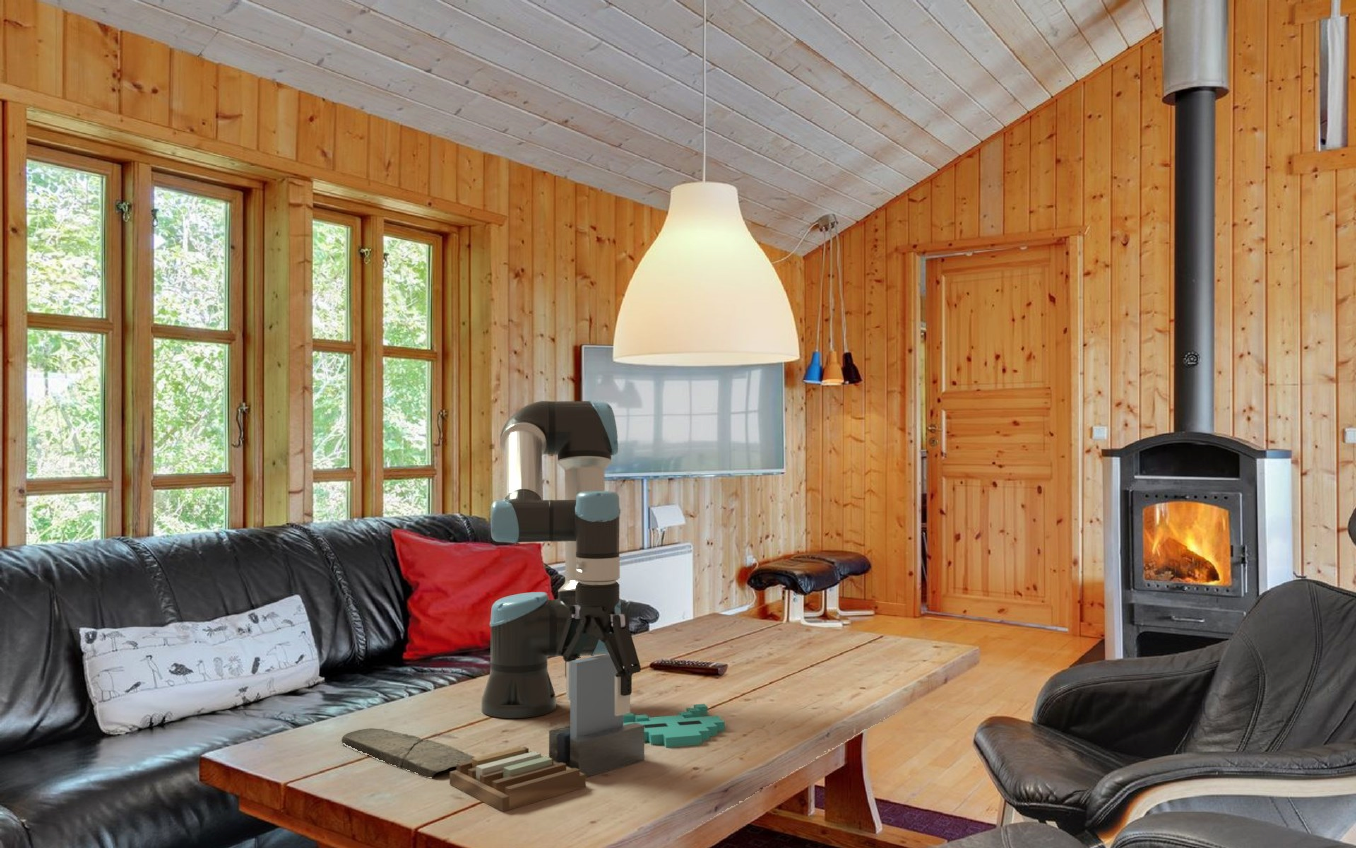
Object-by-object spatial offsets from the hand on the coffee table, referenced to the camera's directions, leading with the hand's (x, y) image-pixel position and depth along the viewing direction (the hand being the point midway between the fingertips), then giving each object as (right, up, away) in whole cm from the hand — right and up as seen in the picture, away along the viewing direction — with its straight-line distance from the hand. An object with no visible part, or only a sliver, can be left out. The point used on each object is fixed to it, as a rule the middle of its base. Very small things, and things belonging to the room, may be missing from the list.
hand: (597, 706), depth 165 cm
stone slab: (-34, -11, +5) cm, 36 cm away
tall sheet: (0, -9, 0) cm, 9 cm away
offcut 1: (-15, -10, -7) cm, 20 cm away
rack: (-12, -10, -11) cm, 19 cm away
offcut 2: (-13, -10, -10) cm, 19 cm away
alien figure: (+12, -11, +19) cm, 25 cm away
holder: (0, -10, 0) cm, 10 cm away
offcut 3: (-10, -10, -12) cm, 18 cm away
